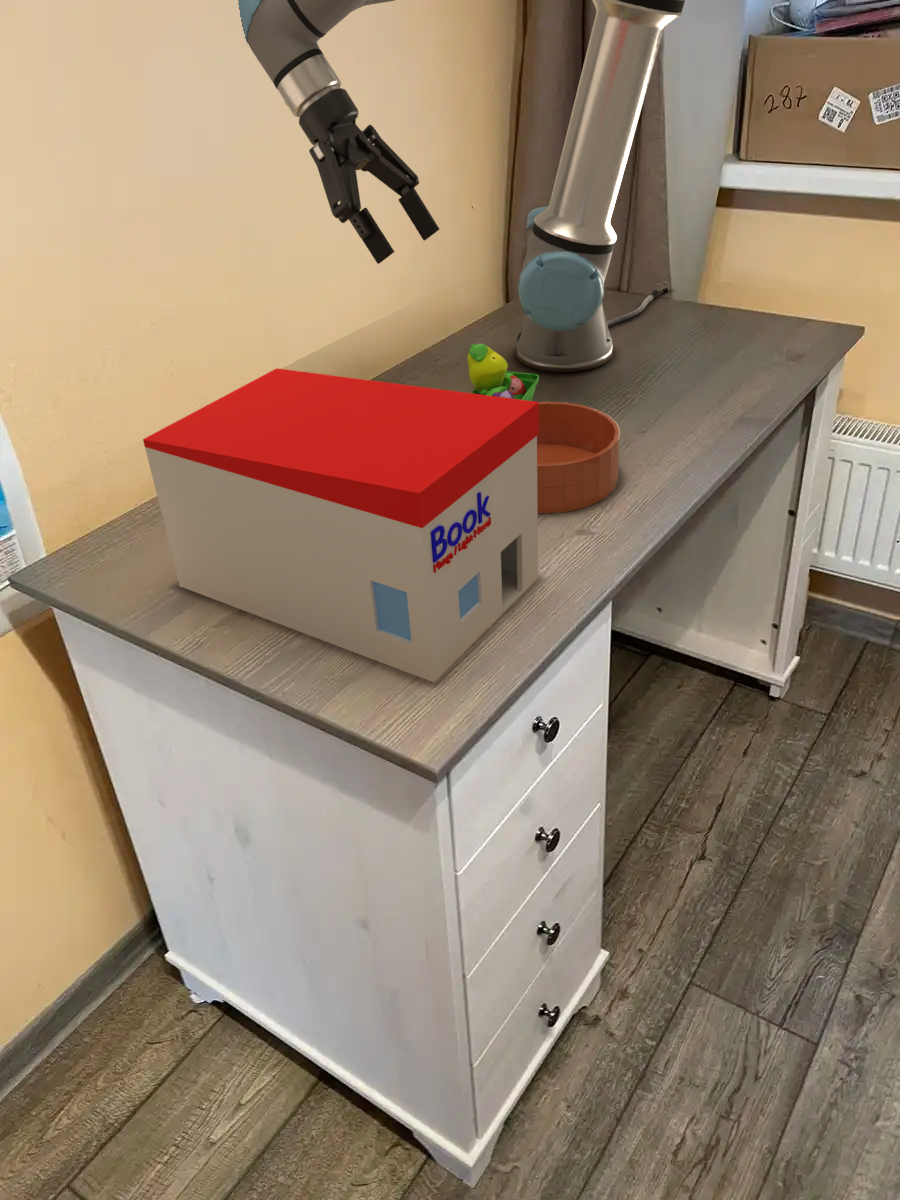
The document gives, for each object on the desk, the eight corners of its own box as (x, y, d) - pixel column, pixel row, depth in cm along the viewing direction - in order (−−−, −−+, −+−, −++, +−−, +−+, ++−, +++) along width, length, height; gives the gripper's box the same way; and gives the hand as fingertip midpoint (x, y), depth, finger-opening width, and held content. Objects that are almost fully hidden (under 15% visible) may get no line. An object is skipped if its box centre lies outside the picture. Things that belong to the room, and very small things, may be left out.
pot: (560, 434, 141) (560, 390, 138) (647, 484, 128) (650, 437, 125) (449, 471, 134) (446, 426, 130) (529, 528, 121) (528, 480, 117)
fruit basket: (518, 440, 140) (516, 362, 134) (457, 434, 143) (453, 357, 137) (540, 407, 149) (540, 332, 143) (483, 401, 152) (480, 327, 145)
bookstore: (437, 683, 98) (421, 493, 86) (179, 586, 115) (136, 415, 103) (541, 578, 112) (540, 402, 100) (298, 505, 129) (272, 346, 117)
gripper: (348, 108, 146) (430, 240, 150) (248, 134, 127) (345, 283, 131) (384, 75, 141) (467, 212, 146) (285, 96, 122) (385, 252, 127)
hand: (410, 246), depth 138 cm, fingers open, 13 cm apart
